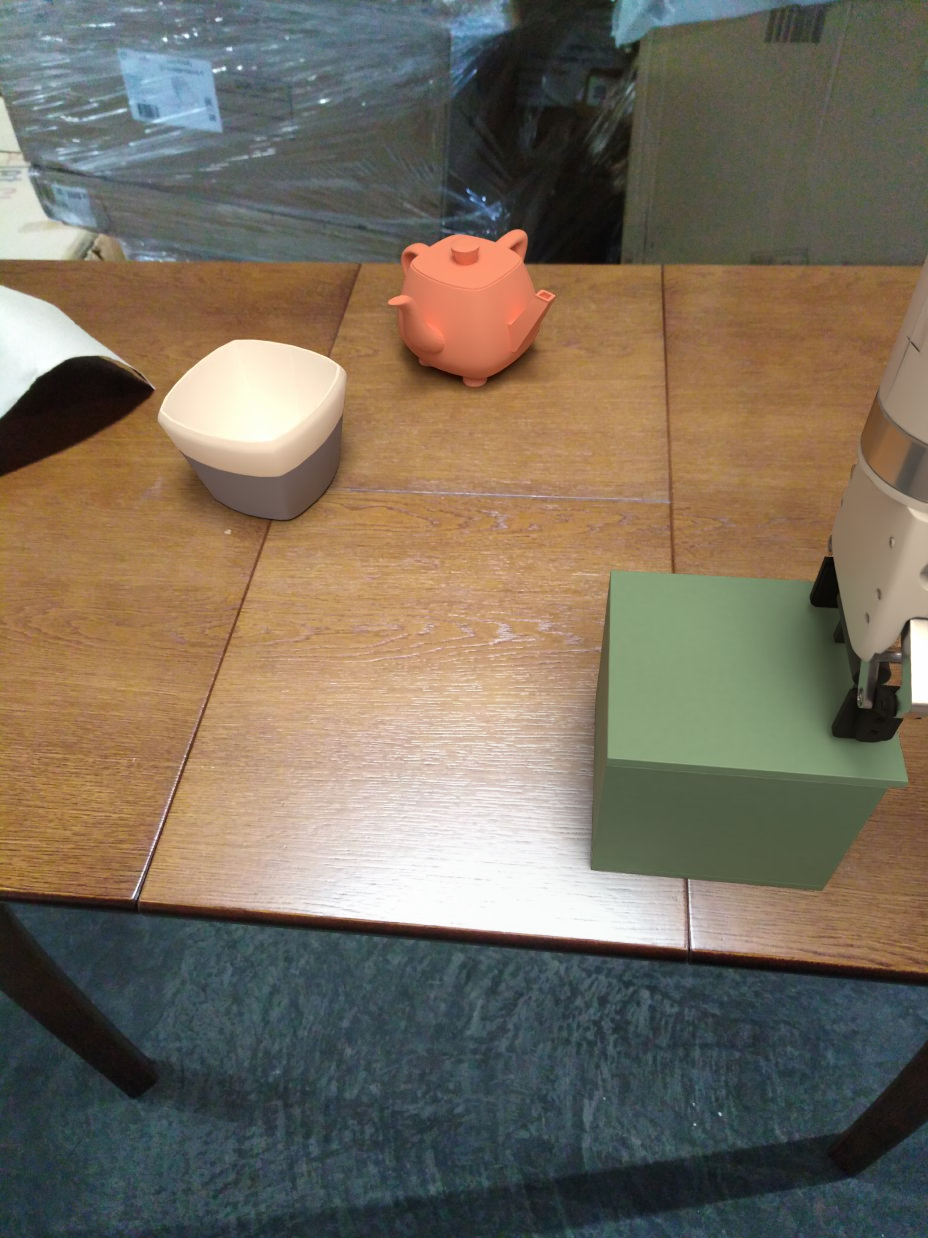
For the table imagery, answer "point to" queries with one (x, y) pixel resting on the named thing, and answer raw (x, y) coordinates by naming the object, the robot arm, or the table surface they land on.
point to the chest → (719, 819)
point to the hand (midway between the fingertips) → (846, 666)
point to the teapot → (469, 304)
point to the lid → (735, 681)
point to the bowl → (260, 425)
